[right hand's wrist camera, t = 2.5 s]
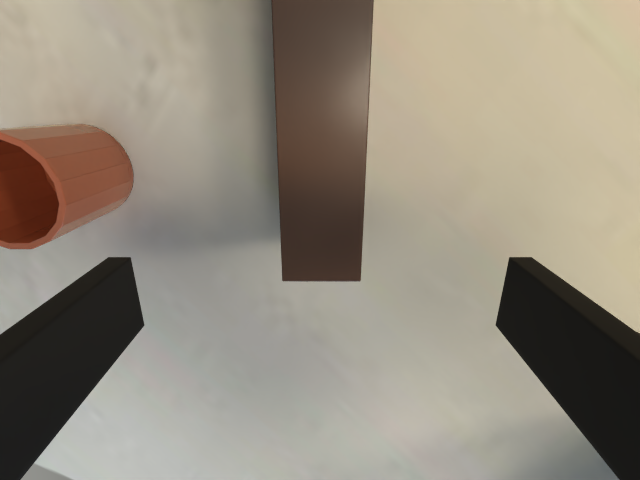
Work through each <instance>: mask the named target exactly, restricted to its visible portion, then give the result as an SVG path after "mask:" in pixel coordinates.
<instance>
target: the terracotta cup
mask: <svg viewBox="0 0 640 480" xmlns="http://www.w3.org/2000/svg"><path fill="white" fill-rule="evenodd" d="M132 186H133V170H132V166H131V162H130V160H129V158H128V156H127V154H126V152H125V151H124V149H123V148H122V146H121V145H120V144H119V143H118V142H117V141H116V140H115V139H114V138H113V137H112V136H110V135H109V134H108V133H106V132H104V131H103V130H101V129H98V128H96V127H93V126H90V125H85V124H62V125H47V126H32V127H17V128H2V129H0V246H2V247H5V248H8V249H34V248H36V247H38V246H41V245H43V244H45V243H48V242H50V241H52V240H54V239H56V238H58V237H60V236H62V235H64V234H66V233H68V232H70V231H72V230H74V229H76V228H78V227H80V226H82V225H84V224H86V223H88V222H90V221H92V220H94V219H96V218H98V217H100V216H102V215H104V214H106V213H108V212H110V211H112V210H114V209H116V208H117V207H119V206H120V205H122V204H123V203H124V202H125V201H126V199H127V198H128V196H129V194H130V192H131V190H132Z"/></svg>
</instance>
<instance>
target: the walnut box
mask: <svg viewBox="0 0 640 480" xmlns="http://www.w3.org/2000/svg"><path fill="white" fill-rule="evenodd" d="M271 1H272V26H273V52H274V78H275V104H276V129H277V155H278V181H279V206H280V232H281V258H282V280H283V281H361V261H362V240H363V218H364V197H365V175H366V153H367V132H368V110H369V88H370V67H371V45H372V24H373V2H374V0H271Z"/></svg>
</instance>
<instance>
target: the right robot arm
mask: <svg viewBox="0 0 640 480" xmlns="http://www.w3.org/2000/svg"><path fill="white" fill-rule="evenodd" d="M143 326H144V321H143V316H142V311H141V306H140V302H139V297H138V292H137V287H136V282H135V277H134V272H133V267H132V262H131V257H108V258H107V259H105V260H104V261H103V262H101V263H100V264H98V265H97V266H96V267H94V268H93V269H91V270H90V271H89V272H87V273H86V274H84V275H83V276H82V277H80V278H79V279H77V280H76V281H75V282H73V283H72V284H70V285H69V286H68V287H66V288H65V289H63V290H62V291H61V292H59V293H58V294H56V295H55V296H54V297H52V298H51V299H49V300H48V301H47V302H45V303H44V304H42V305H41V306H40V307H38V308H37V309H35V310H34V311H33V312H31V313H30V314H28V315H27V316H26V317H24V318H23V319H21V320H20V321H19V322H17V323H16V324H14V325H13V326H12V327H10V328H9V329H7V330H6V331H5V332H3V333H2V334H0V480H20V479H21V478H22V477H23V476H24V475H25V473H26V472H27V471H28V470H29V468H30V467H31V466H32V465H33V463H34V462H35V461H36V460H37V458H38V457H39V456H40V455H41V453H42V452H43V451H44V450H45V448H46V447H47V446H48V445H49V443H50V442H51V441H52V440H53V438H54V437H55V436H56V435H57V433H58V432H59V431H60V430H61V428H62V427H63V426H64V425H65V423H66V422H67V421H68V420H69V418H70V417H71V416H72V415H73V413H74V412H75V411H76V410H77V408H78V407H79V406H80V405H81V403H82V402H83V401H84V400H85V399H86V397H87V396H88V395H89V394H90V392H91V391H92V390H93V389H94V387H95V386H96V385H97V384H98V382H99V381H100V380H101V379H102V377H103V376H104V375H105V374H106V372H107V371H108V370H109V369H110V367H111V366H112V365H113V364H114V362H115V361H116V360H117V359H118V357H119V356H120V355H121V354H122V352H123V351H124V350H125V349H126V347H127V346H128V345H129V344H130V342H131V341H132V340H133V339H134V337H135V336H136V335H137V334H138V332H139V331H140V330H141V329H142V327H143ZM496 326H497V327H498V329H499V330H500V331H501V332H502V334H503V335H504V336H505V337H506V339H507V340H508V341H509V342H510V344H511V345H512V346H513V347H514V349H515V350H516V351H517V352H518V354H519V355H520V356H521V357H522V359H523V360H524V361H525V362H526V364H527V365H528V366H529V367H530V369H531V370H532V371H533V372H534V374H535V375H536V376H537V377H538V379H539V380H540V381H541V382H542V384H543V385H544V386H545V387H546V389H547V390H548V391H549V392H550V394H551V395H552V396H553V397H554V399H555V400H556V401H557V402H558V403H559V405H560V406H561V407H562V408H563V410H564V411H565V412H566V413H567V415H568V416H569V417H570V418H571V420H572V421H573V422H574V423H575V425H576V426H577V427H578V428H579V430H580V431H581V432H582V433H583V435H584V436H585V437H586V438H587V440H588V441H589V442H590V443H591V445H592V446H593V447H594V448H595V450H596V451H597V452H598V453H599V455H600V456H601V457H602V458H603V460H604V461H605V462H606V463H607V465H608V466H609V467H610V468H611V470H612V471H613V472H614V473H615V475H616V476H617V477H618V478H619V480H640V333H638V332H635V331H634V330H633V329H631V328H630V327H628V326H627V325H626V324H624V323H623V322H621V321H620V320H619V319H617V318H616V317H614V316H613V315H612V314H610V313H609V312H607V311H606V310H605V309H603V308H602V307H600V306H599V305H598V304H596V303H595V302H593V301H592V300H591V299H589V298H588V297H586V296H585V295H584V294H582V293H581V292H579V291H578V290H577V289H575V288H574V287H572V286H571V285H570V284H568V283H567V282H565V281H564V280H563V279H561V278H560V277H558V276H557V275H556V274H554V273H553V272H551V271H550V270H549V269H547V268H546V267H544V266H543V265H542V264H540V263H539V262H537V261H536V260H535V259H533V258H532V257H509V262H508V267H507V272H506V277H505V282H504V287H503V292H502V297H501V302H500V306H499V311H498V316H497V321H496Z"/></svg>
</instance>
